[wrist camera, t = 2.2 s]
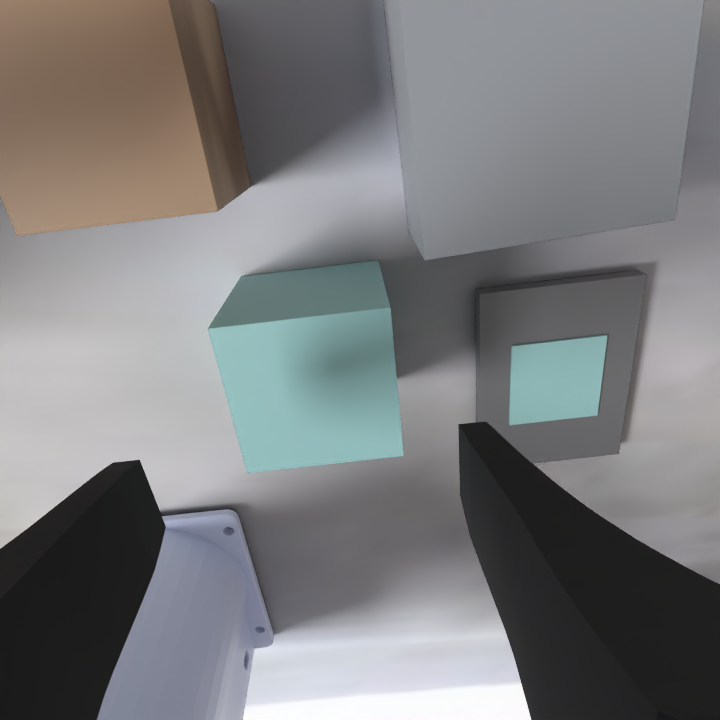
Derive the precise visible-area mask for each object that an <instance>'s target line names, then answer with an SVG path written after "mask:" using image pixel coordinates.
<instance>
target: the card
mask: <svg viewBox="0 0 720 720" xmlns="http://www.w3.org/2000/svg"><path fill="white" fill-rule="evenodd" d="M646 276H647V274H645V273H643V272H641V271H639V270H633V271H625V272H616V273H607V274H599V275H590V276H582V277H573V278H565V279H556V280H548V281H539V282H531V283H522V284H514V285H505V286H497V287H488V288H479V289H476V423H477V422H487V423H489V424H490V425H491V426H492V427H493V428H494V429H495V430H496V431H497V432H498V433H499V434H501V435H502V436H503V437H504V438H505V439H506V440H507V441H508V442H509V443H510V444H511V445H512V446H513V447H514V448H516V449H517V450H518V451H519V452H520V453H521V454H522V455H523V456H524V457H526V458H527V459H528V460H529V461H530V462H531V463H540V462H549V461H558V460H567V459H576V458H586V457H595V456H604V455H613V454H619V449H620V443H621V436H622V430H623V424H624V417H625V411H626V404H627V398H628V392H629V385H630V379H631V372H632V366H633V360H634V353H635V347H636V340H637V334H638V328H639V321H640V315H641V308H642V302H643V296H644V289H645V283H646Z"/></svg>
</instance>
